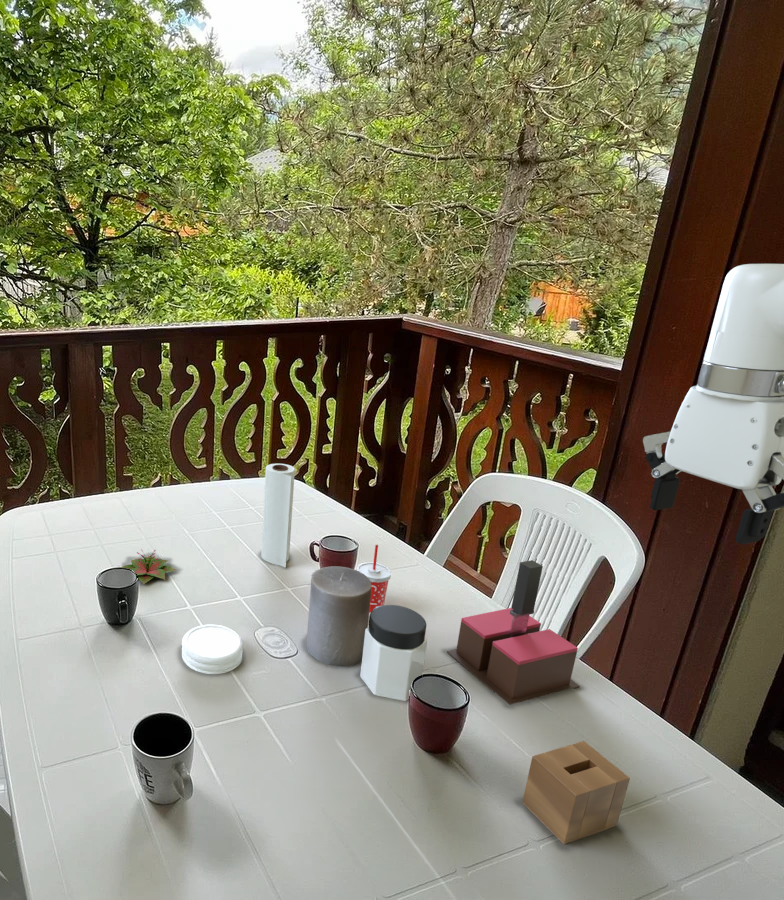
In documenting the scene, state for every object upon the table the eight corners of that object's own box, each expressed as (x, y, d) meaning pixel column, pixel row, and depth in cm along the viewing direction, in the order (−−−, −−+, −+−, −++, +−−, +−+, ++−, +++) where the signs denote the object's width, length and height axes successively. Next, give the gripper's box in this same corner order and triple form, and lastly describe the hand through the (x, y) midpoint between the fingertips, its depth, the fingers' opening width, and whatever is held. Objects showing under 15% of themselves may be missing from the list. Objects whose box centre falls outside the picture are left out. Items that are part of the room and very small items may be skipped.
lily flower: (142, 593, 124) (141, 572, 123) (107, 570, 133) (106, 550, 132) (188, 573, 132) (188, 553, 131) (152, 553, 141) (152, 534, 139)
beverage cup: (345, 610, 119) (351, 542, 115) (367, 600, 122) (374, 534, 118) (370, 626, 114) (378, 556, 110) (393, 615, 118) (401, 547, 113)
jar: (381, 661, 105) (388, 597, 101) (427, 685, 99) (438, 618, 95) (350, 685, 99) (357, 618, 95) (398, 712, 93) (407, 642, 89)
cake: (510, 641, 110) (517, 602, 108) (578, 691, 98) (588, 649, 96) (445, 655, 106) (451, 616, 104) (508, 710, 94) (517, 666, 92)
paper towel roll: (263, 551, 142) (268, 461, 135) (291, 555, 140) (297, 464, 133) (257, 566, 135) (261, 471, 128) (285, 571, 133) (291, 475, 127)
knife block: (570, 791, 80) (583, 740, 77) (614, 831, 74) (630, 778, 72) (520, 808, 78) (532, 755, 75) (562, 850, 72) (576, 795, 70)
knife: (514, 662, 103) (535, 559, 97) (524, 669, 101) (546, 565, 96) (497, 666, 102) (516, 562, 96) (506, 674, 100) (527, 568, 94)
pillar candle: (369, 644, 109) (378, 566, 104) (356, 677, 101) (365, 594, 96) (314, 629, 113) (320, 553, 108) (297, 659, 105) (303, 579, 100)
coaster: (188, 681, 99) (188, 662, 98) (176, 644, 109) (176, 626, 108) (249, 674, 101) (250, 655, 100) (233, 637, 111) (233, 620, 110)
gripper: (864, 396, 63) (810, 552, 68) (685, 365, 78) (652, 494, 84) (815, 401, 61) (763, 562, 66) (641, 368, 76) (610, 500, 82)
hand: (701, 524), depth 75 cm, fingers open, 9 cm apart
